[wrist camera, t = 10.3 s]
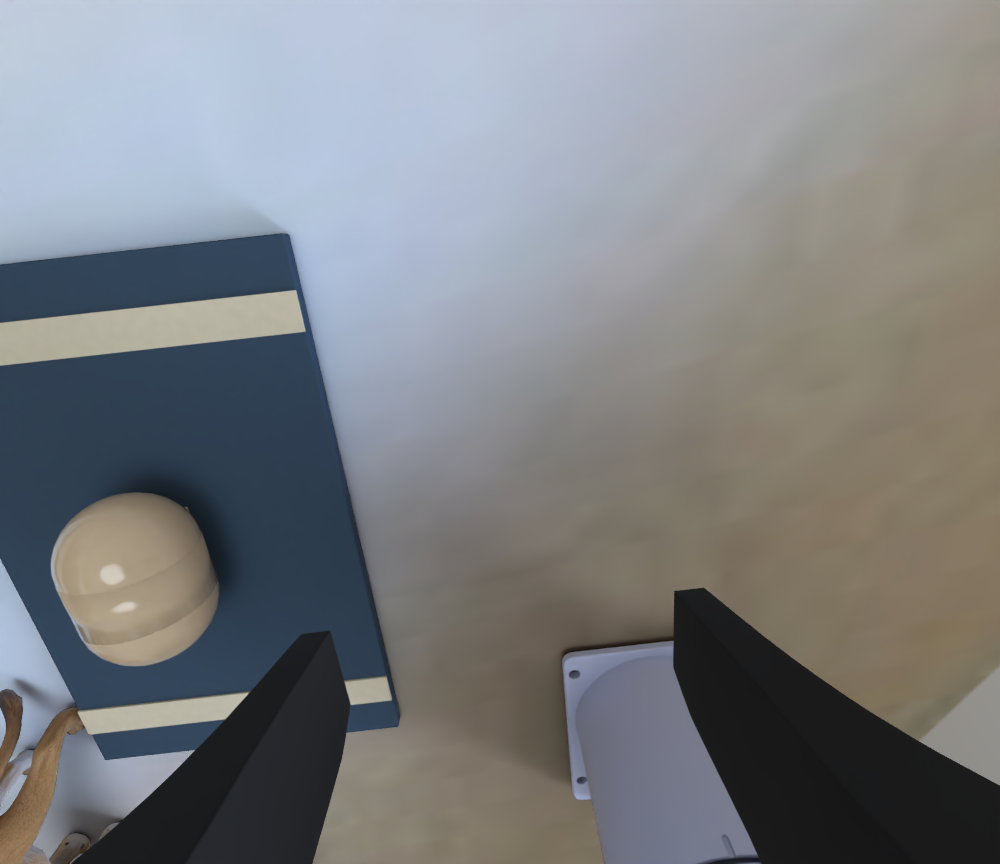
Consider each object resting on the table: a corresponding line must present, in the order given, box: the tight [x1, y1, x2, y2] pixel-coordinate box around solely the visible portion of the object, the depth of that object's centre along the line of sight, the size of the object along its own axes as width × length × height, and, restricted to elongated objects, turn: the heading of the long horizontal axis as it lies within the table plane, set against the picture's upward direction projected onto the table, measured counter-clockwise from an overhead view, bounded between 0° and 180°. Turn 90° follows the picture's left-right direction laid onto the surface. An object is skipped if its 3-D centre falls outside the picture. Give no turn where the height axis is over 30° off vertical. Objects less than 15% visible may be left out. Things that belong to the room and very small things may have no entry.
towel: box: [0, 234, 400, 760], centre depth 21 cm, size 22×14×1 cm, turn 6°
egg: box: [50, 492, 220, 667], centre depth 19 cm, size 6×4×4 cm
